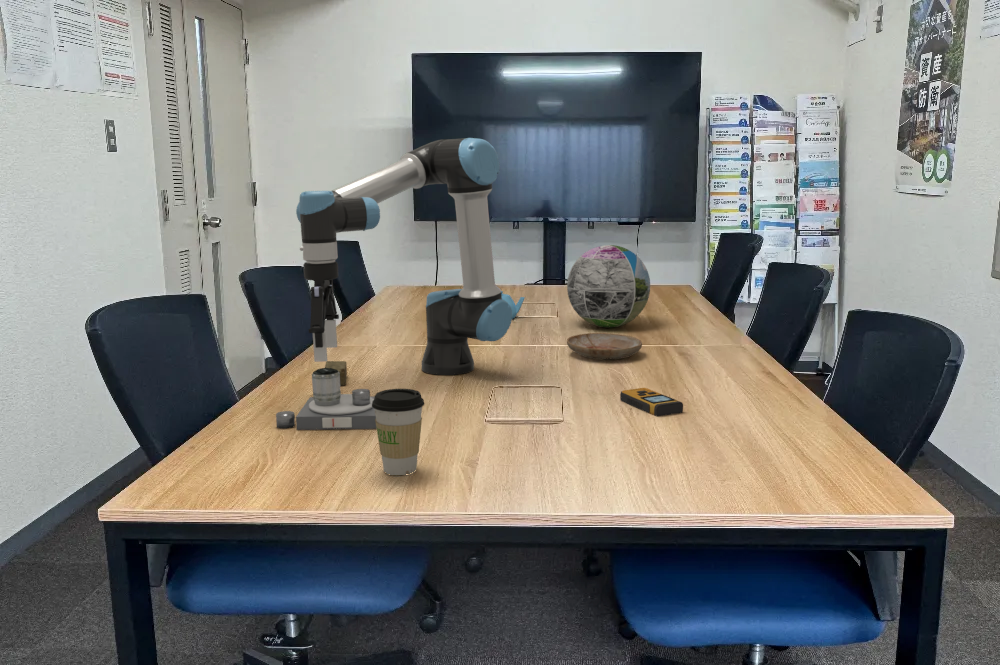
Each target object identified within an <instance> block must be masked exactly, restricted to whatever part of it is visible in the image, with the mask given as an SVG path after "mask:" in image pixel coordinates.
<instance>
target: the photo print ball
mask: <svg viewBox="0 0 1000 665" xmlns="http://www.w3.org/2000/svg"><path fill="white" fill-rule="evenodd" d="M566 285H567V286H566V289H567V290H566V291H567V295H568V300H569V303H570V305H571V307H572V309H573V310H574V311H575V313H576V314H577V315H578V316H579V317H580V318H581V319H582V320H584V321H585V322H586V323H589V324H591V325H593V326H596V327H600V328H608V329H609V328H610V329H611V328H618V327H622V326H623V325H626V324H628V323H630V322H632V321H633V320H634V319H636V318H637V317H638V316H639V315H640V314H641V313H642V311H643V310H644V309H645V307H646V305H647V303H648V300H649V297H650V293H651V279H650V275H649V271H648V269H647V267H646V265H645V264H644V262H643V260H642V259H641V258H640V257H639V256H638V255H636V254H635V252H633V251H632V250H630V249H628V248H625V247H622V246H619V245H614V244H603V245H599V246H596V247H593V248H590V249H588V250H587V251H585V252H584V253H582V254H581V255H580V256H579V257H578V259H576V261H575V262H574V264H573V265H572V267H571V268H570V271H569V274H568V277H567V283H566Z"/></svg>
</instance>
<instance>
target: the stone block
mask: <svg viewBox="0 0 1000 665" xmlns="http://www.w3.org/2000/svg"><path fill="white" fill-rule="evenodd" d="M347 366H348V365H347V361H345V360H336V361H335V360H329V361H328V360H327V361H325V365H324V368H332V369H336V370H338V371H339V373H340V387H341V386H346V384H347V383H346V382H347V378H348V375H347V373H348V368H347Z"/></svg>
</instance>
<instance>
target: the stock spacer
mask: <svg viewBox="0 0 1000 665" xmlns="http://www.w3.org/2000/svg"><path fill="white" fill-rule="evenodd" d="M275 418H276V422H275V423H276V428H277V429H282V430H288V429H293V428H294V427H296V416H295V411H293V410H292V411H291V410H282V411H278V412H277V413H275Z"/></svg>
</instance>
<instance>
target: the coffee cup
mask: <svg viewBox="0 0 1000 665" xmlns="http://www.w3.org/2000/svg"><path fill="white" fill-rule="evenodd" d="M374 396H375V398H374V400H373V402H372V407H373V408H374V409H375V415H376V420H375V421H376V428H377V429H376V434H377V439H378V446H379V447H378V448H379V454H380V455H381V461H382V468H383V473H384V472H386V473H387V474H390V475H406V474H410V473H412V472H414V471H415V470H416V471H417V467H418V466H417V465H418V454H419V451H420V442H421V433H422V432H421V431H422V430H421V429H422V423H423V418H422V412H423V407H424V406H425V400H424V398H423V397H422V394H421V392H420V391H418V390H416V389H412V388H390V389H389V388H388V389H385V390H380V391H379V392H377V393H375V395H374ZM416 471H415V472H416ZM415 472H414V473H415ZM387 474H386V475H387ZM390 475H389V476H390ZM410 475H411V474H410ZM406 476H407V475H406Z"/></svg>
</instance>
